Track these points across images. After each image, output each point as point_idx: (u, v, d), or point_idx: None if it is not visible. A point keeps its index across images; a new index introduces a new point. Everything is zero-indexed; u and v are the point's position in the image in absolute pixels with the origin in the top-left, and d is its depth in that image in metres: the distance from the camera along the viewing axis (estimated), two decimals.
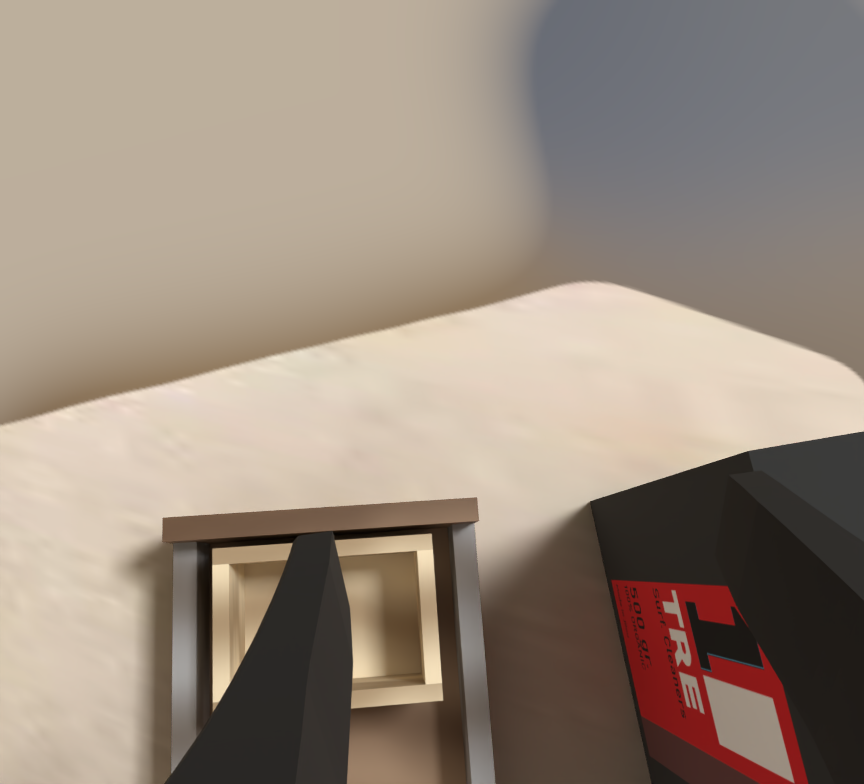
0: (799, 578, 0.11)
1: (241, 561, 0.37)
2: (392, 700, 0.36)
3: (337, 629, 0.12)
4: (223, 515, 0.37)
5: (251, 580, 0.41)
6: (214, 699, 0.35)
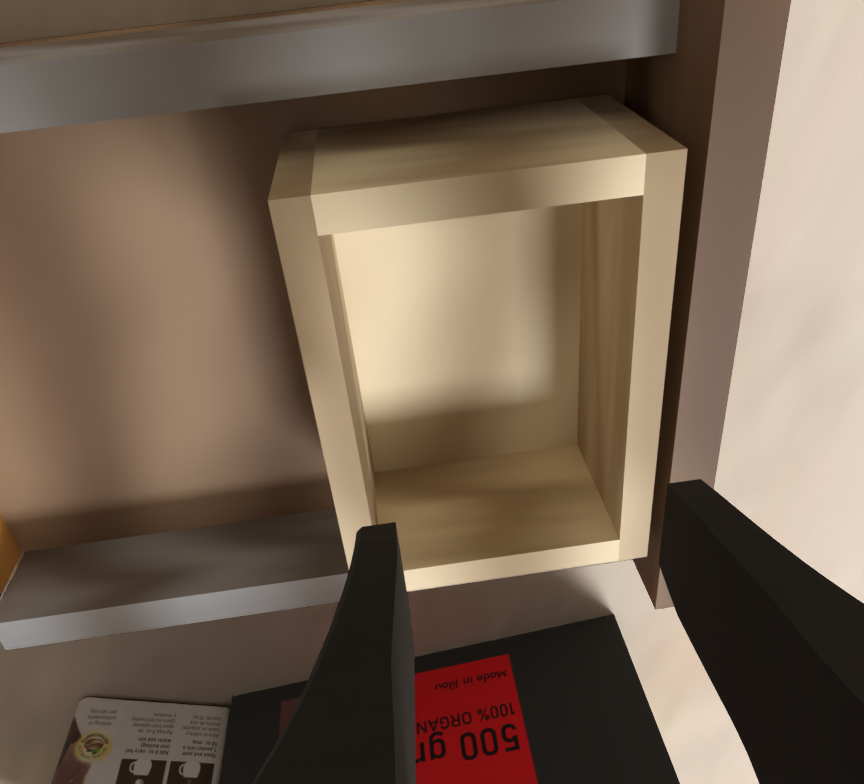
0: (729, 588, 0.11)
1: (644, 223, 0.15)
2: (348, 531, 0.18)
3: (404, 619, 0.12)
4: (761, 162, 0.15)
5: None
6: (318, 199, 0.14)
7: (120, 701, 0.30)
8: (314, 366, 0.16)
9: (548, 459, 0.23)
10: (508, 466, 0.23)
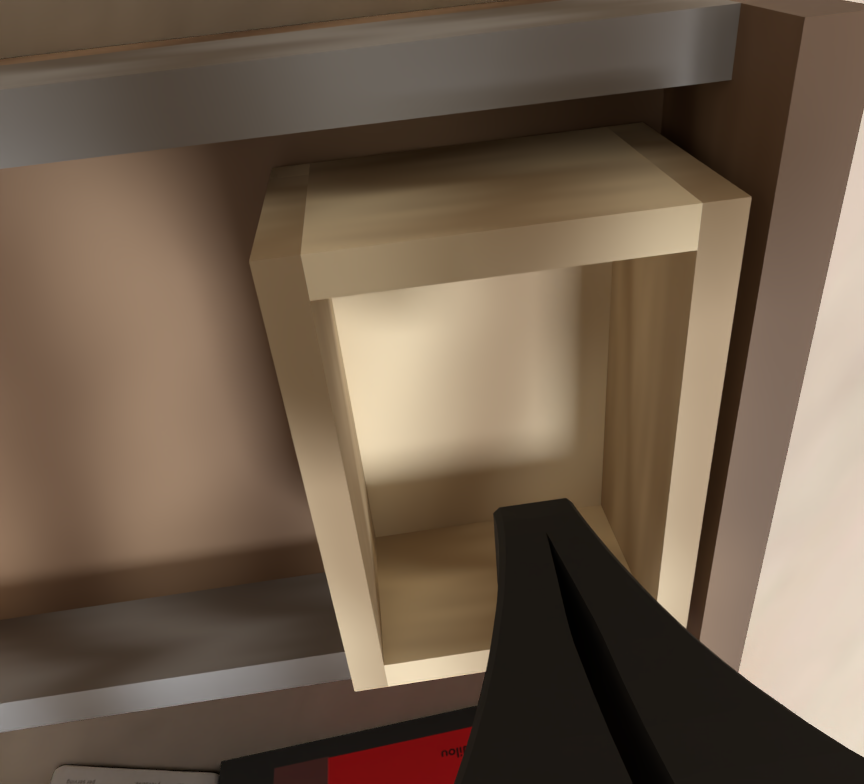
0: (573, 611, 0.11)
1: (697, 282, 0.13)
2: (347, 622, 0.16)
3: None
4: (837, 211, 0.12)
5: None
6: (310, 259, 0.11)
7: (99, 769, 0.28)
8: (306, 446, 0.13)
9: None
10: None
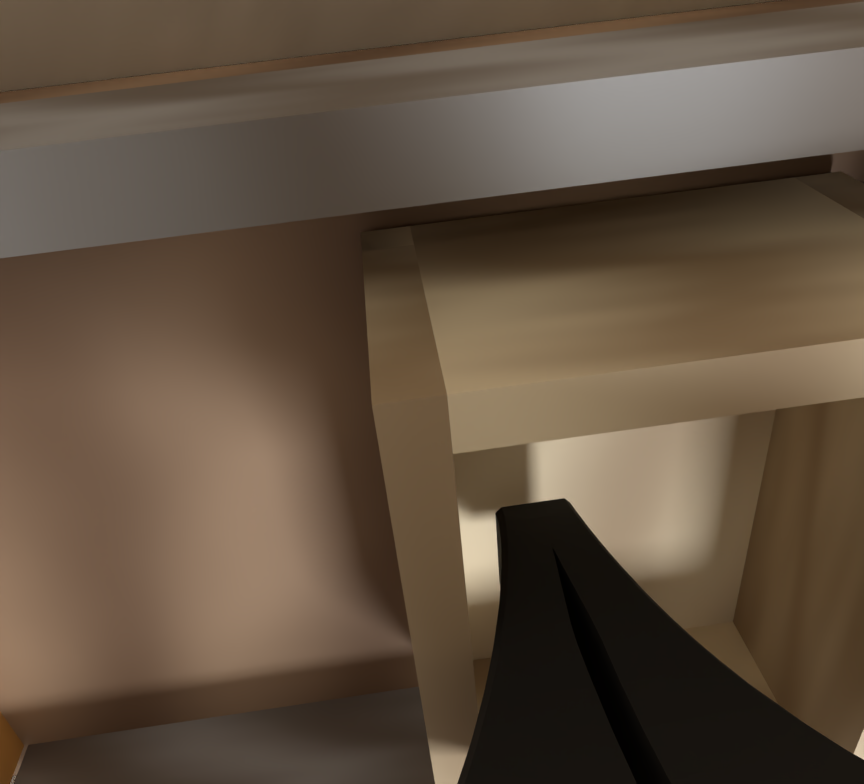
0: (571, 612, 0.11)
1: None
2: None
3: None
4: None
5: None
6: (460, 401, 0.08)
7: None
8: (425, 628, 0.10)
9: None
10: None
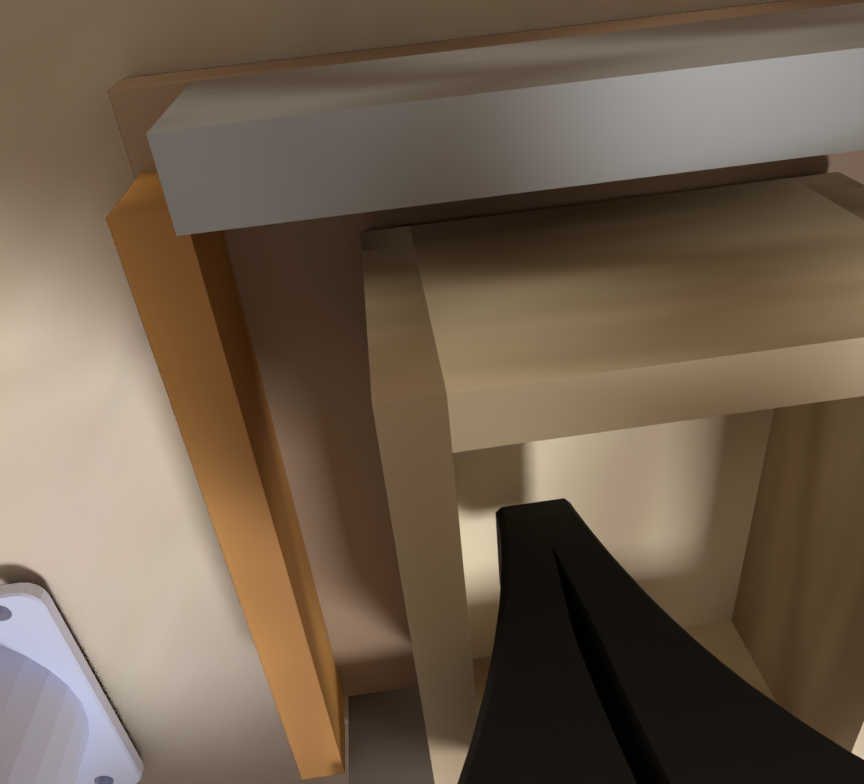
0: (570, 612, 0.11)
1: None
2: None
3: None
4: None
5: None
6: (460, 399, 0.08)
7: None
8: (425, 627, 0.10)
9: None
10: None
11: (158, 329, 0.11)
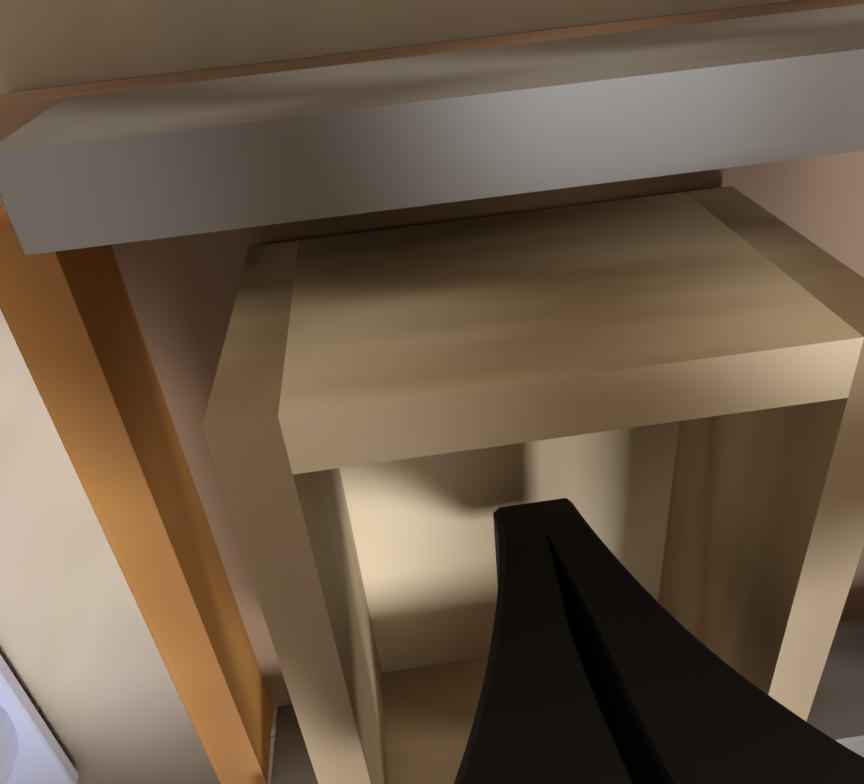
0: (573, 611, 0.11)
1: (841, 437, 0.09)
2: None
3: None
4: None
5: None
6: (292, 422, 0.08)
7: None
8: (290, 646, 0.10)
9: None
10: None
11: (31, 346, 0.11)
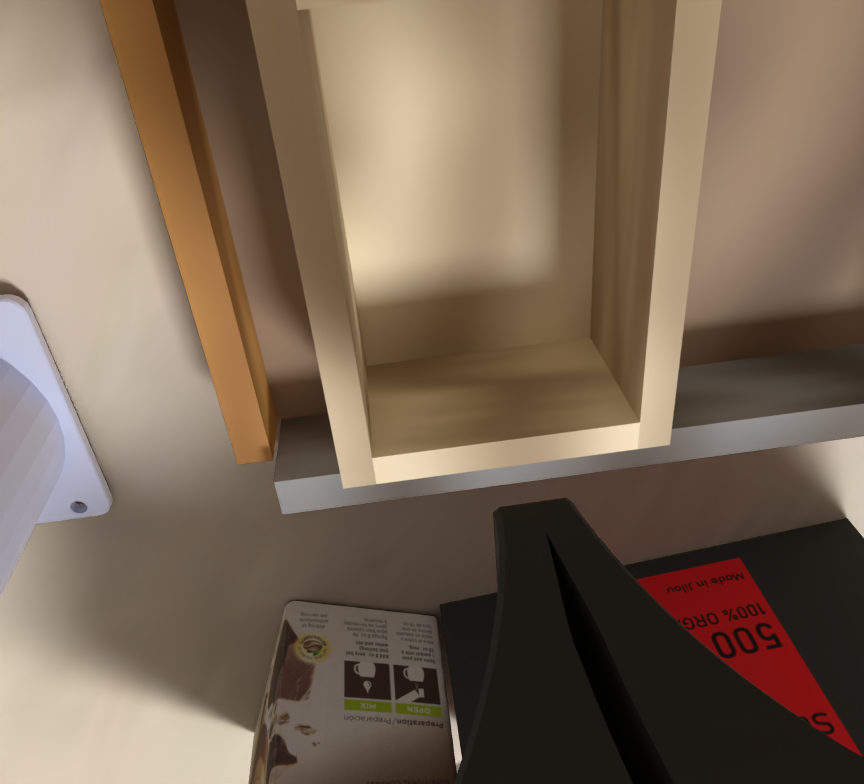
0: (572, 611, 0.11)
1: (679, 9, 0.13)
2: (335, 403, 0.16)
3: None
4: None
5: None
6: None
7: (328, 606, 0.29)
8: (294, 187, 0.14)
9: (558, 351, 0.21)
10: (514, 358, 0.20)
11: None
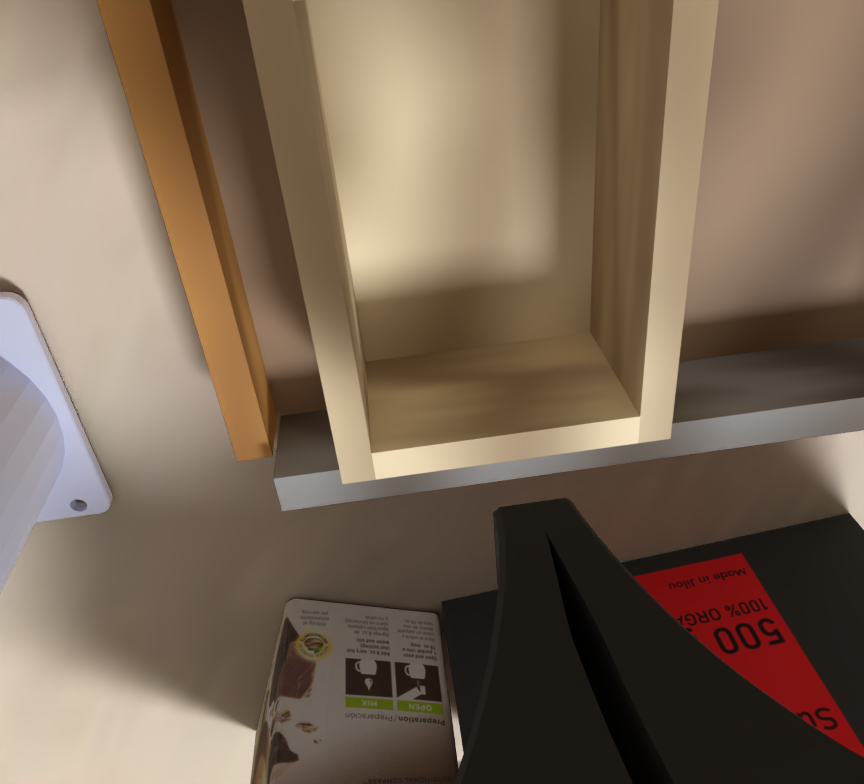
0: (573, 611, 0.11)
1: None
2: (334, 398, 0.16)
3: None
4: None
5: None
6: None
7: (329, 603, 0.28)
8: (291, 180, 0.14)
9: (558, 345, 0.20)
10: (514, 352, 0.20)
11: None
